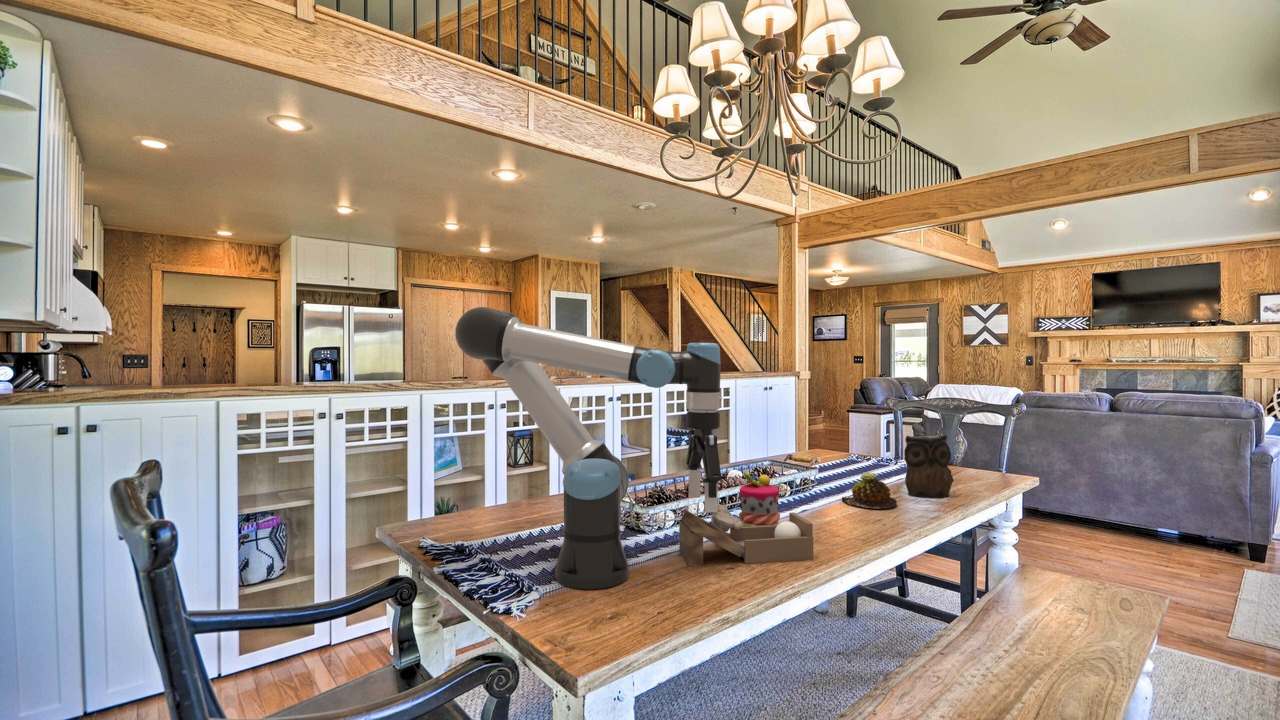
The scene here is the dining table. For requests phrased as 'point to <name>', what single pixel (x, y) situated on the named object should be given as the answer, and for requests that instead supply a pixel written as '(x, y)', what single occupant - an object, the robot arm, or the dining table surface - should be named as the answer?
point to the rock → (725, 519)
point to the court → (775, 542)
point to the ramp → (693, 535)
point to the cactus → (870, 493)
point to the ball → (787, 530)
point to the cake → (759, 502)
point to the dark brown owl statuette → (927, 466)
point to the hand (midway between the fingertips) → (702, 504)
